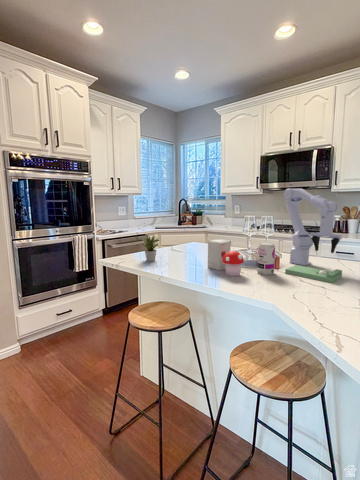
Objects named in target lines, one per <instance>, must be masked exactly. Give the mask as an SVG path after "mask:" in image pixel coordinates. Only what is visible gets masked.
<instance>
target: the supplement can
mask: <svg viewBox="0 0 360 480" xmlns="http://www.w3.org/2000/svg"><path fill="white" fill-rule="evenodd" d="M275 255H276V246H275V244H274V243H272V242H260V243H259V244H258V246H257V263H256V267H257V268H256V272H257V273H258V274H259V275H264V276H270V275H273V274H274V273H275V261H276V259H275V258H276V256H275Z"/></svg>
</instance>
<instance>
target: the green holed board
mask: <svg viewBox="0 0 360 480" xmlns="http://www.w3.org/2000/svg"><path fill="white" fill-rule="evenodd" d="M321 270H322V269H319V268H314V267H309V266H306V265H299V264H294V265H293V266H290V267H287V268H285V270H284V271H285V272H284V273H285V274H287V275H288V274H289V275H293V276H298V277H303V278H307V279H312V280H317V281H319V282H320V281H322V282H325V283H326V282H327V283H332V284H333V283H334V282H336V281H338V280H340V279H342V277H343V270H342V269H337V268H336V269H334V270H333V271H331V270H327V269H326V270H325V269H323V270H324V271H326V272H327V275H322V274H318V273H319V271H321Z"/></svg>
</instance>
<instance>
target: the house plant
mask: <svg viewBox="0 0 360 480" xmlns="http://www.w3.org/2000/svg"><path fill="white" fill-rule="evenodd" d="M144 238H145V239H144ZM144 238H142V241H144V243H145V244H143V243H141V244H140V246H144V247H146V249H145V250H144V253H145V259H146V261H147V262H155V261H156V255H157V249H155V248H156V247H157V246H158V247H160V244H159V242H158V241H160V240H161V238H162V237H156V235H155V234H153V235H152V237H151V236H150V234H149V233H148V236H144ZM155 238H156V239H155ZM156 242H158V243H156ZM154 260H155V261H154Z"/></svg>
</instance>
